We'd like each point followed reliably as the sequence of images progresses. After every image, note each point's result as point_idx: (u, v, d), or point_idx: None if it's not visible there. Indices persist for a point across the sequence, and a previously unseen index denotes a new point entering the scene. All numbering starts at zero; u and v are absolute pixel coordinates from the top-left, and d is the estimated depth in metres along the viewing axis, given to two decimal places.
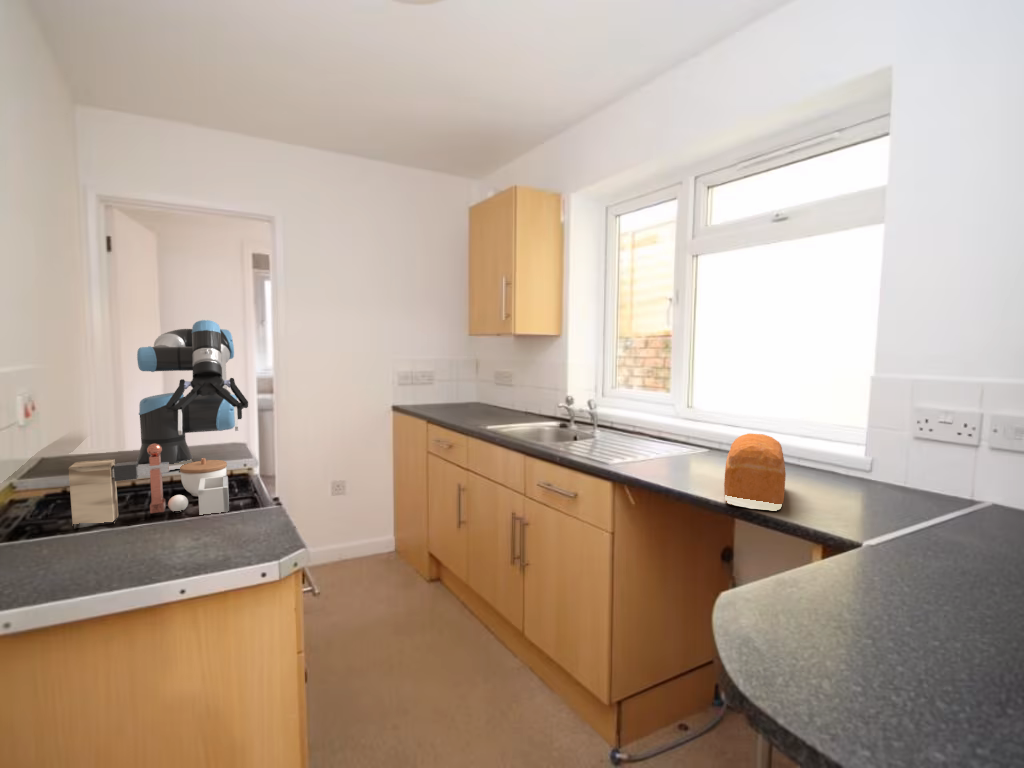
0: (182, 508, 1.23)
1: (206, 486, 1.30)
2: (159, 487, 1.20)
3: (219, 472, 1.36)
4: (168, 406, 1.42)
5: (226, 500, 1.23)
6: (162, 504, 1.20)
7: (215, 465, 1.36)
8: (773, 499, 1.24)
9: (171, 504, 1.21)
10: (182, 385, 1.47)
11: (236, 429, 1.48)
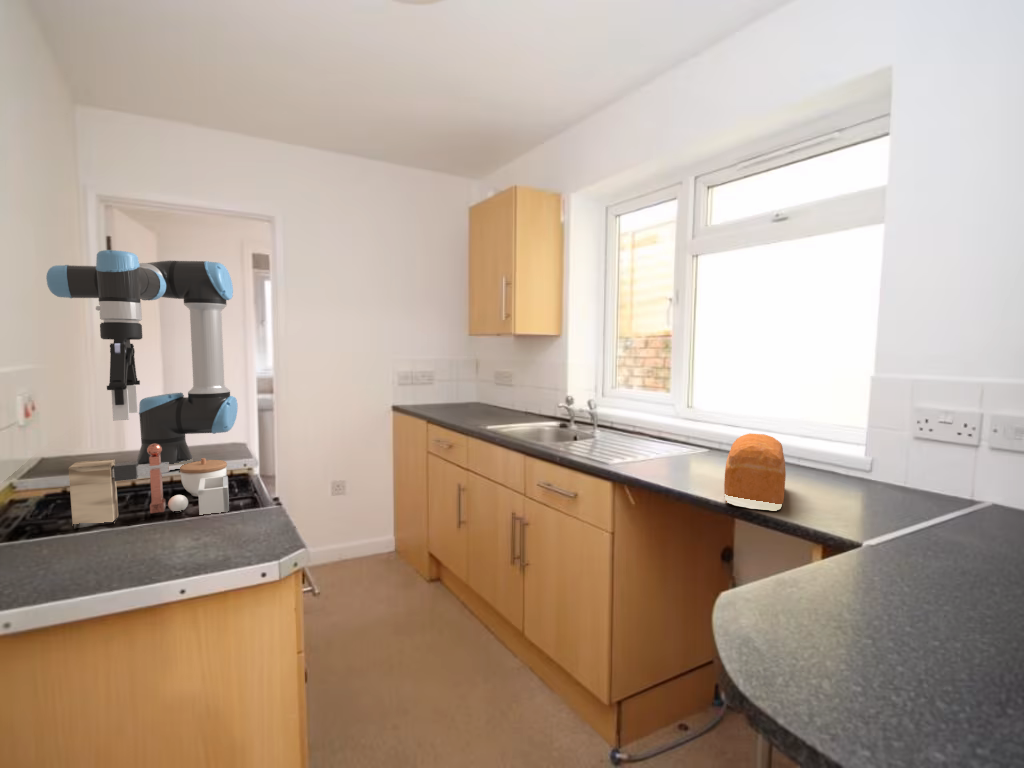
0: (182, 508, 1.23)
1: (206, 486, 1.30)
2: (159, 487, 1.20)
3: (219, 472, 1.36)
4: None
5: (226, 500, 1.23)
6: (162, 504, 1.20)
7: (215, 465, 1.36)
8: (773, 499, 1.25)
9: (171, 504, 1.21)
10: None
11: (123, 419, 1.12)
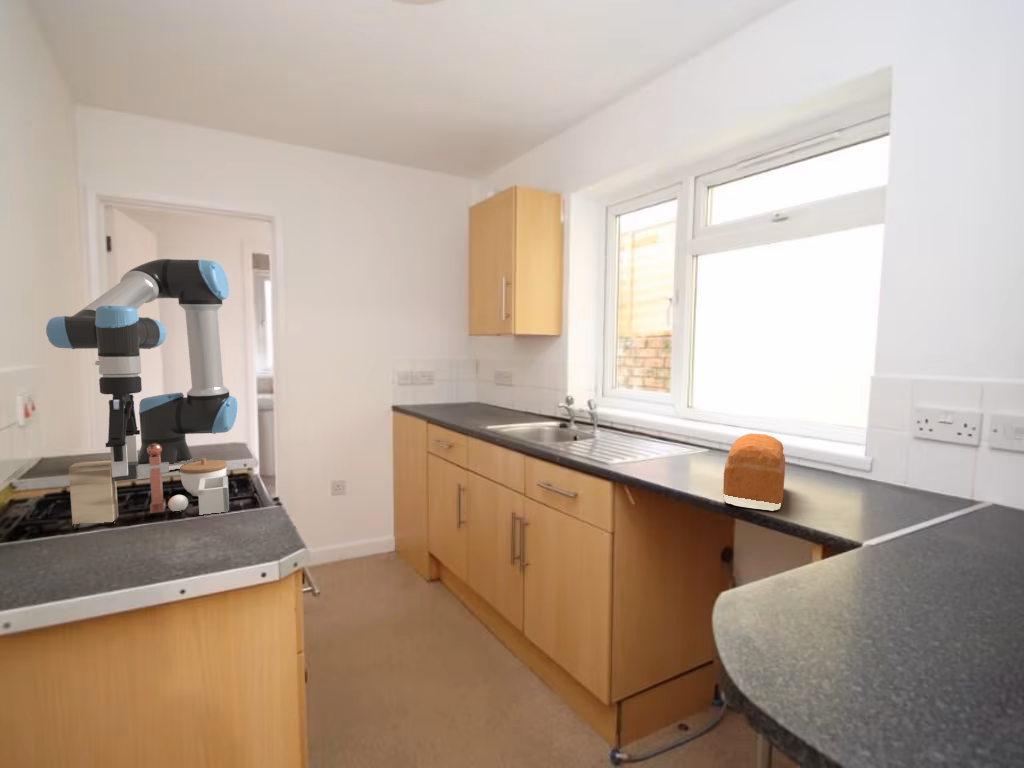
0: (182, 508, 1.23)
1: (206, 486, 1.30)
2: (159, 487, 1.20)
3: (219, 472, 1.36)
4: None
5: (226, 500, 1.23)
6: (162, 504, 1.20)
7: (215, 465, 1.36)
8: (771, 499, 1.25)
9: (171, 504, 1.21)
10: None
11: None
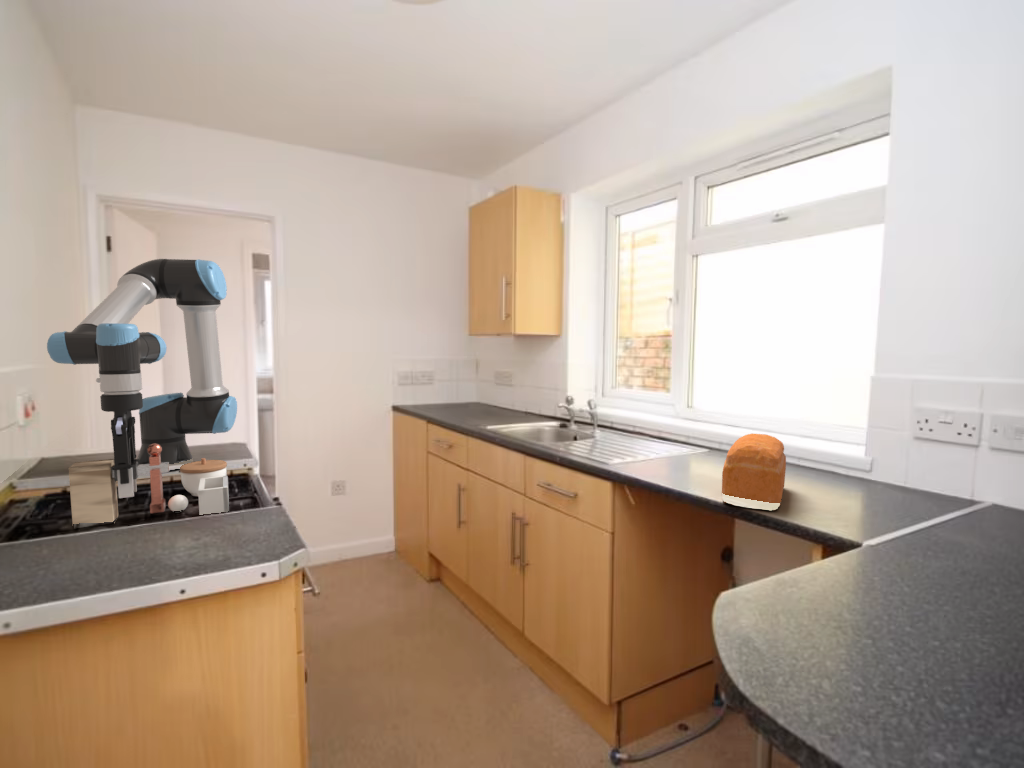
0: (182, 508, 1.23)
1: (206, 486, 1.30)
2: (159, 487, 1.20)
3: (219, 472, 1.36)
4: None
5: (226, 500, 1.23)
6: (162, 504, 1.20)
7: (215, 465, 1.36)
8: (769, 499, 1.25)
9: (171, 504, 1.21)
10: None
11: None
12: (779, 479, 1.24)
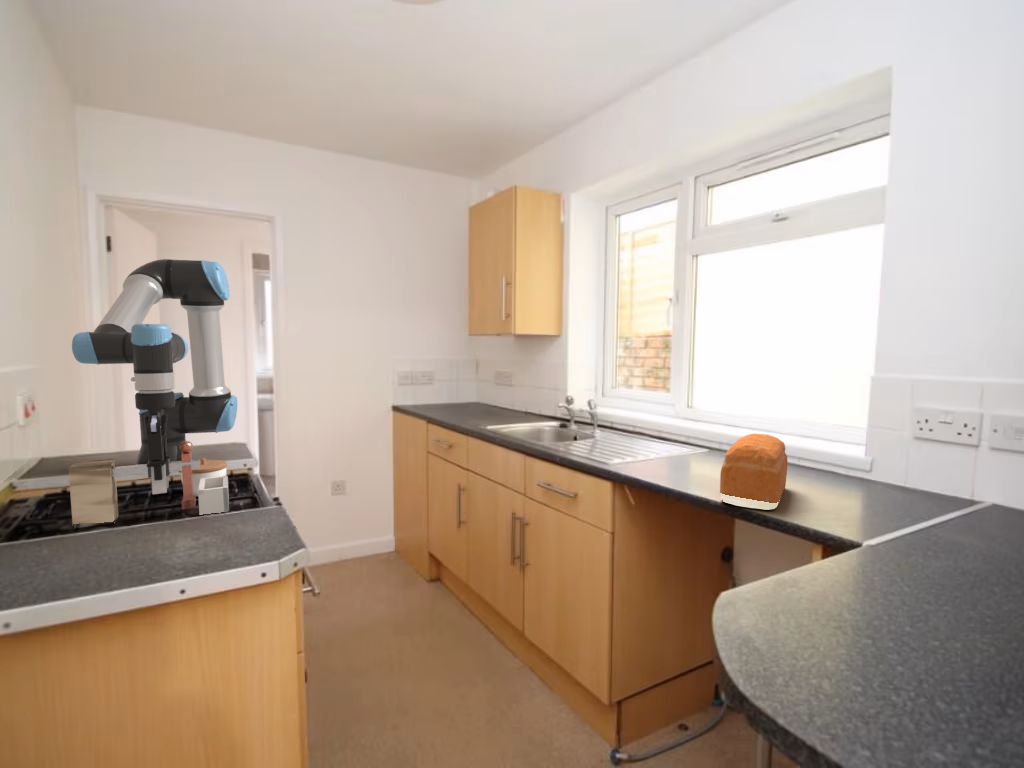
0: None
1: (206, 486, 1.30)
2: (190, 483, 1.23)
3: (219, 472, 1.36)
4: None
5: (226, 500, 1.23)
6: (193, 500, 1.23)
7: (215, 465, 1.36)
8: (766, 499, 1.25)
9: None
10: None
11: None
12: (777, 479, 1.24)
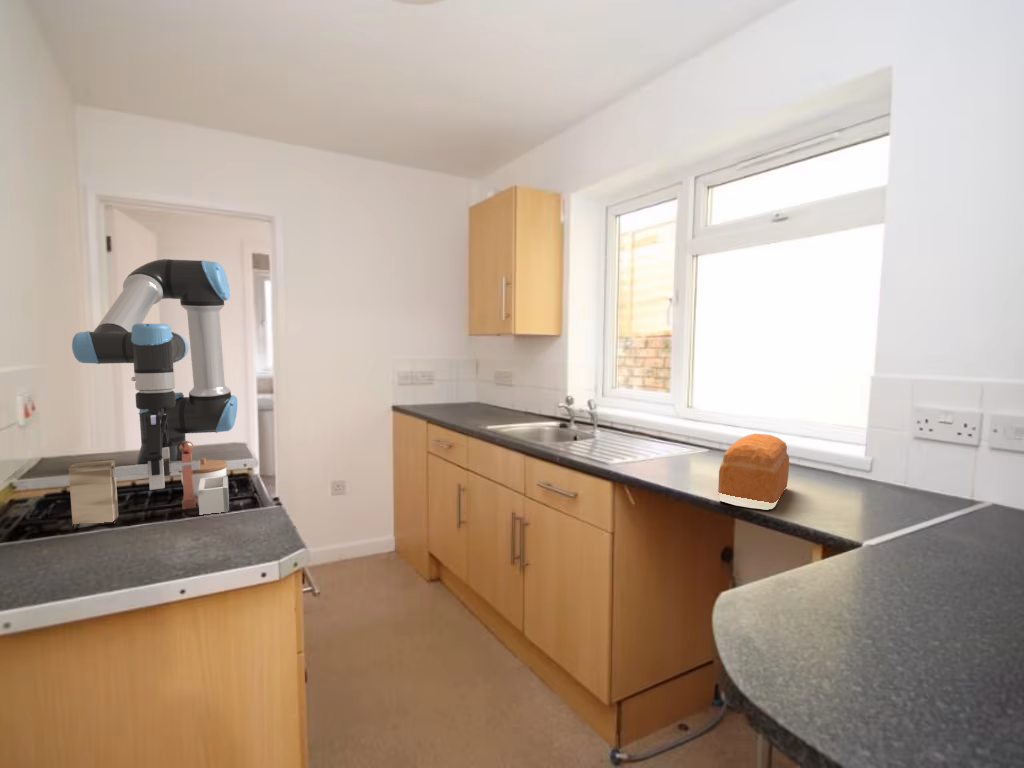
0: None
1: (206, 486, 1.30)
2: (191, 483, 1.23)
3: (219, 472, 1.36)
4: None
5: (226, 500, 1.23)
6: (194, 500, 1.23)
7: (215, 465, 1.36)
8: (764, 499, 1.25)
9: None
10: None
11: None
12: (774, 479, 1.25)
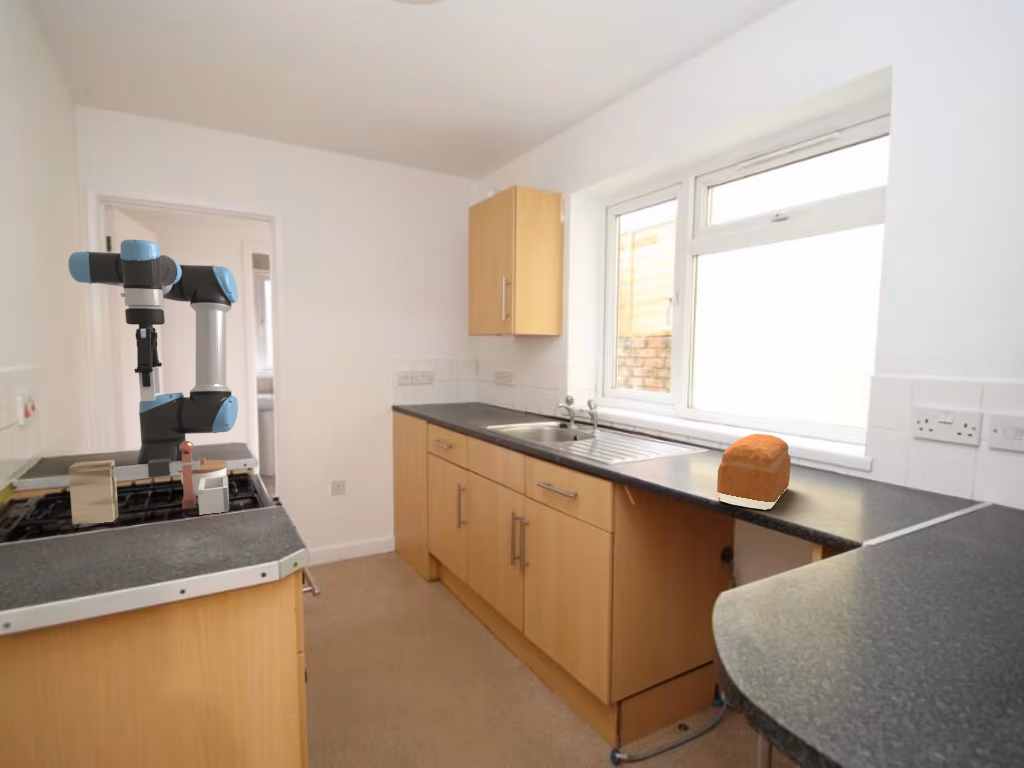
0: None
1: (206, 486, 1.30)
2: (191, 483, 1.23)
3: (219, 472, 1.36)
4: None
5: (226, 500, 1.23)
6: (194, 500, 1.23)
7: (215, 465, 1.36)
8: (762, 498, 1.25)
9: None
10: None
11: None
12: (772, 479, 1.25)
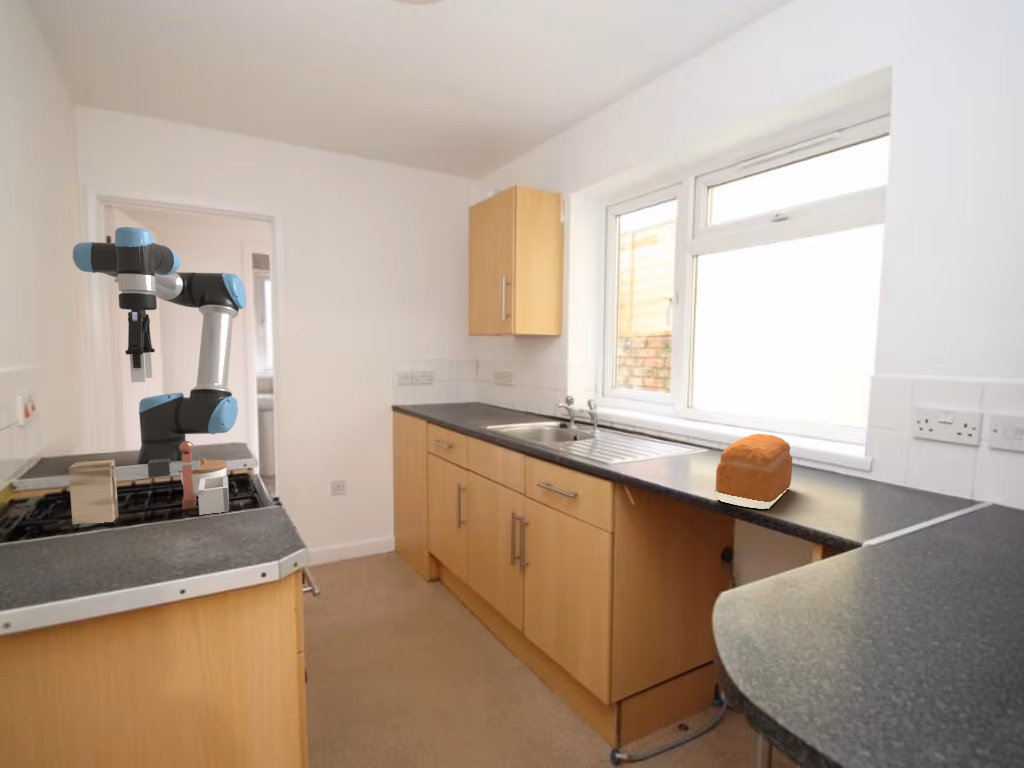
0: None
1: (206, 486, 1.30)
2: (191, 483, 1.23)
3: (219, 472, 1.36)
4: None
5: (226, 500, 1.23)
6: (194, 500, 1.23)
7: (215, 465, 1.36)
8: (759, 498, 1.26)
9: None
10: None
11: (141, 381, 1.23)
12: (770, 478, 1.25)
